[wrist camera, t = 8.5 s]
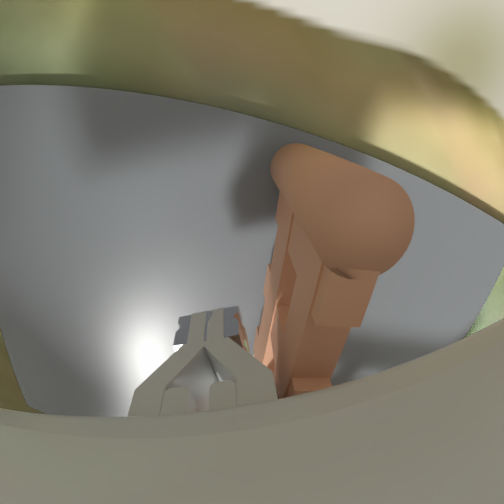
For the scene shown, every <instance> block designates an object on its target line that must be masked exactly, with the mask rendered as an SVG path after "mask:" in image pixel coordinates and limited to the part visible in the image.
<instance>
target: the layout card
mask: <svg viewBox="0 0 504 504" xmlns="http://www.w3.org/2000/svg"><path fill="white" fill-rule="evenodd" d="M291 143H301V144H305V145H308V146H310V147H313V148H316V149H319V150H322V151H324V152H327V153H330V154H332V155H335V156H338V157H340V158H343V159H345V160H348V161H350V162H353V163H355V164H358V165H360V166H363V167H365V168H367V169H370V170H372V171H375V172H377V173H379V174H381V175H384V176H386V177H388V178H390V179H392V180H394V181H395V182H397V183H398V184H399V185H400V186H401V187H402V188H403V189H404V190H405V191H406V193H407V194H408V196H409V198H410V200H411V202H412V205H413V209H414V216H415V225H414V232H413V236H412V239H411V242H410V244H409V246H408V248H407V250H406V252H405V253H404V255H403V256H402V257H401V259H400V260H399V261H398V262H397V263H396V264H395V265H394V266H393V267H391V268H390V269H389V270H387V271H386V272H384V273H382V274H380V275H378V279H377V282H376V285H375V287H374V290H373V293H372V296H371V299H370V302H369V305H368V307H367V310H366V313H365V316H364V318H363V321H362V323H361V326H360V327H351V330H350V332H349V335H348V337H347V340H346V343H345V345H344V348H343V350H342V353H341V355H340V358H339V360H338V363H337V365H336V367H335V370H334V372H333V374H332V377H331V379H330V381H331V384H332V386H335V385H339V384H342V383H346V382H349V381H352V380H356V379H359V378H362V377H365V376H369V375H372V374H375V373H378V372H381V371H384V370H386V369H389V368H392V367H395V366H398V365H401V364H403V363H406V362H409V361H411V360H414V359H416V358H419V357H422V356H424V355H427V354H429V353H431V352H434V351H436V350H439V349H441V348H443V347H446V346H448V345H450V344H452V343H455V342H457V341H459V340H461V339H463V338H464V337H465V336H466V334H467V332H468V331H469V329H470V328H471V326H472V324H473V323H474V321H475V319H476V318H477V316H478V314H479V313H480V311H481V309H482V307H483V306H484V304H485V302H486V300H487V298H488V296H489V295H490V293H491V291H492V289H493V287H494V285H495V283H496V281H497V279H498V277H499V275H500V273H501V271H502V269H503V267H504V224H503V223H501V222H500V221H498V220H497V219H495V218H493V217H492V216H490V215H488V214H487V213H485V212H483V211H482V210H480V209H478V208H476V207H475V206H473V205H471V204H469V203H468V202H466V201H464V200H462V199H460V198H458V197H457V196H455V195H453V194H451V193H449V192H447V191H445V190H443V189H441V188H439V187H437V186H435V185H433V184H431V183H429V182H427V181H425V180H423V179H421V178H419V177H417V176H415V175H413V174H411V173H408V172H406V171H404V170H402V169H400V168H397V167H395V166H393V165H391V164H388V163H386V162H384V161H381V160H379V159H376V158H374V157H372V156H369V155H367V154H364V153H362V152H359V151H357V150H354V149H351V148H349V147H346V146H344V145H341V144H338V143H335V142H333V141H330V140H327V139H324V138H321V137H319V136H316V135H313V134H310V133H307V132H304V131H301V130H298V129H294V128H291V127H288V126H285V125H281V124H278V123H275V122H271V121H268V120H264V119H261V118H257V117H253V116H250V115H246V114H242V113H238V112H234V111H230V110H226V109H222V108H218V107H213V106H209V105H204V104H199V103H195V102H190V101H184V100H179V99H174V98H168V97H162V96H156V95H150V94H143V93H136V92H129V91H121V90H112V89H102V88H91V87H78V86H60V85H0V328H1V331H2V335H3V339H4V342H5V345H6V349H7V352H8V355H9V358H10V361H11V364H12V367H13V370H14V373H15V376H16V379H17V381H18V384H19V386H20V389H21V392H22V394H23V397H24V399H25V401H26V404H27V406H29V407H31V408H34V409H36V410H38V411H40V412H43V413H45V414H53V415H67V416H92V417H127V416H128V412H129V408H130V405H131V401H132V398H133V394H134V390H135V389H136V388H137V387H138V386H139V385H140V384H142V383H143V382H144V381H145V380H146V379H147V378H148V377H149V376H150V375H151V374H152V373H153V372H154V371H155V370H156V369H157V368H159V367H160V366H161V365H162V364H163V363H164V362H165V361H166V360H167V359H168V358H169V357H170V356H171V355H172V354H173V353H174V352H175V350H174V347H173V343H174V338H175V333H176V331H177V330H178V329H179V328H180V327H179V324H178V320H179V317H182V316H187V315H191V314H193V313H198V312H203V311H209V310H214V309H218V308H223V307H224V308H226V307H231V306H237V305H238V306H239V309H240V312H241V315H242V325H243V326H244V327H245V330H246V334H247V338H248V343H249V349H250V354H251V355H252V356H253V357H254V349H253V346H254V340H255V334H256V329H257V326H260V324H261V319H262V313H263V308H264V302H265V298H264V292H263V289H264V283H265V277H266V271H267V266H268V264H271V263H272V257H273V251H274V245H275V239H276V233H277V228H278V224H277V222H276V219H275V217H276V211H277V205H278V199H279V192H280V190H279V189H278V187H277V185H276V184H275V182H274V181H273V179H272V176H271V171H270V166H271V161H272V158H273V156H274V155H275V153H276V152H277V151H278V150H279V149H280V148H282V147H283V146H285V145H287V144H291Z"/></svg>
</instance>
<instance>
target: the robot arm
mask: <svg viewBox="0 0 504 504" xmlns="http://www.w3.org/2000/svg"><path fill="white" fill-rule="evenodd" d="M178 324H179V327H180V328H179V329H178V330H177V331H176V333H175V338H174V343H173V347H174V350H175V352H174V353H173V354H172V355H171V356H170V357H169V358H168V359H167V360H166V361H165V362H164V363H163V364H162V365H161V366H160V367H159V368H157V369H156V370H155V371H154V372H153V373H152V374H151V375H150V376H149V377H148V378H147V379H146V380H145V381H144V382H143V383H142V384H140V385H139V386H138V387H137V388H136V389H135V390H134V394H133V398H132V401H131V405H130V408H129V412H128V416H127V417H92V416H67V415H53V414H41V413H32V412H23V411H16V410H9V409H2V408H0V504H504V318H503V319H501V320H499V321H497V322H496V323H494V324H492V325H490V326H488V327H486V328H484V329H482V330H480V331H478V332H476V333H474V334H472V335H470V336H468V337H466V338H463V339H461V340H459V341H457V342H455V343H452V344H450V345H448V346H446V347H443V348H441V349H439V350H436V351H434V352H431V353H429V354H427V355H424V356H422V357H419V358H416V359H414V360H411V361H409V362H406V363H403V364H401V365H398V366H395V367H392V368H389V369H386V370H384V371H381V372H378V373H375V374H372V375H369V376H365V377H362V378H359V379H356V380H352V381H349V382H346V383H342V384H339V385H335V386H331V387H328V388H324V389H320V390H316V391H312V392H308V393H304V394H299V395H295V396H290V397H286V398H281V399H279V396H278V392H277V388H276V384H275V380H274V376H273V372H272V370H270V369H269V368H268V367H266V366H265V365H264V364H262V363H261V362H260V361H258V360H257V359H256V358H255V357H253V356H252V355H251V354H250V349H249V343H248V338H247V334H246V330H245V327H244V326H243V325H242V315H241V312H240V309H239V306H238V305H237V306H231V307H226V308H224V307H223V308H218V309H214V310H209V311H203V312H198V313H193V314H191V315H187V316H182V317H179V320H178Z"/></svg>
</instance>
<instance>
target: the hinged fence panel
mask: <svg viewBox="0 0 504 504" xmlns="http://www.w3.org/2000/svg"><path fill="white" fill-rule="evenodd" d="M270 171H271V176H272V179H273V181H274V182H275V184H276V185H277V187H278V189H279V190H280V192H279V199H278V205H277V211H276V217H275V219H276V222H277V224H278V228H277V233H276V239H275V245H274V251H273V257H272V263H271V264H268V266H267V271H266V277H265V283H264V289H263V292H264V298H265V302H264V308H263V313H262V319H261V324H260V326H257V329H256V334H255V340H254V346H253V349H254V357H255V358H256V359H257V360H258V361H260V362H261V363H262V364H264V365H265V366H266V367H268V368H269V369H270V370H272V372H273V376H274V380H275V384H276V388H277V392H278V396H279V399H281V398H286V397H290V396H295V395H299V394H304V393H308V392H312V391H316V390H320V389H324V388H328V387H331V386H332V384H331V381H330V379H331V377H332V374H333V372H334V370H335V367H336V365H337V363H338V360H339V358H340V355H341V353H342V350H343V348H344V345H345V343H346V340H347V337H348V335H349V332H350V330H351V327H360V326H361V323H362V321H363V318H364V316H365V313H366V310H367V307H368V305H369V302H370V299H371V296H372V293H373V290H374V287H375V285H376V282H377V279H378V275H380V274H382V273H384V272H386V271H387V270H389V269H390V268H391V267H393V266H394V265H395V264H396V263H397V262H398V261H399V260H400V259H401V257H402V256H403V255H404V253H405V252H406V250H407V248H408V246H409V244H410V242H411V239H412V236H413V232H414V225H415V216H414V209H413V205H412V202H411V200H410V198H409V196H408V194H407V193H406V191H405V190H404V189H403V188H402V187H401V186H400V185H399V184H398V183H397V182H395V181H394V180H392V179H390V178H388V177H386V176H384V175H381V174H379V173H377V172H375V171H372V170H370V169H367V168H365V167H363V166H360V165H358V164H355V163H353V162H350V161H348V160H345V159H343V158H340V157H338V156H335V155H332V154H330V153H327V152H324V151H322V150H319V149H316V148H313V147H310V146H308V145H305V144H301V143H291V144H287V145H285V146H283V147H282V148H280V149H279V150H278V151H277V152H276V153H275V155H274V156H273V158H272V161H271V166H270Z"/></svg>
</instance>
